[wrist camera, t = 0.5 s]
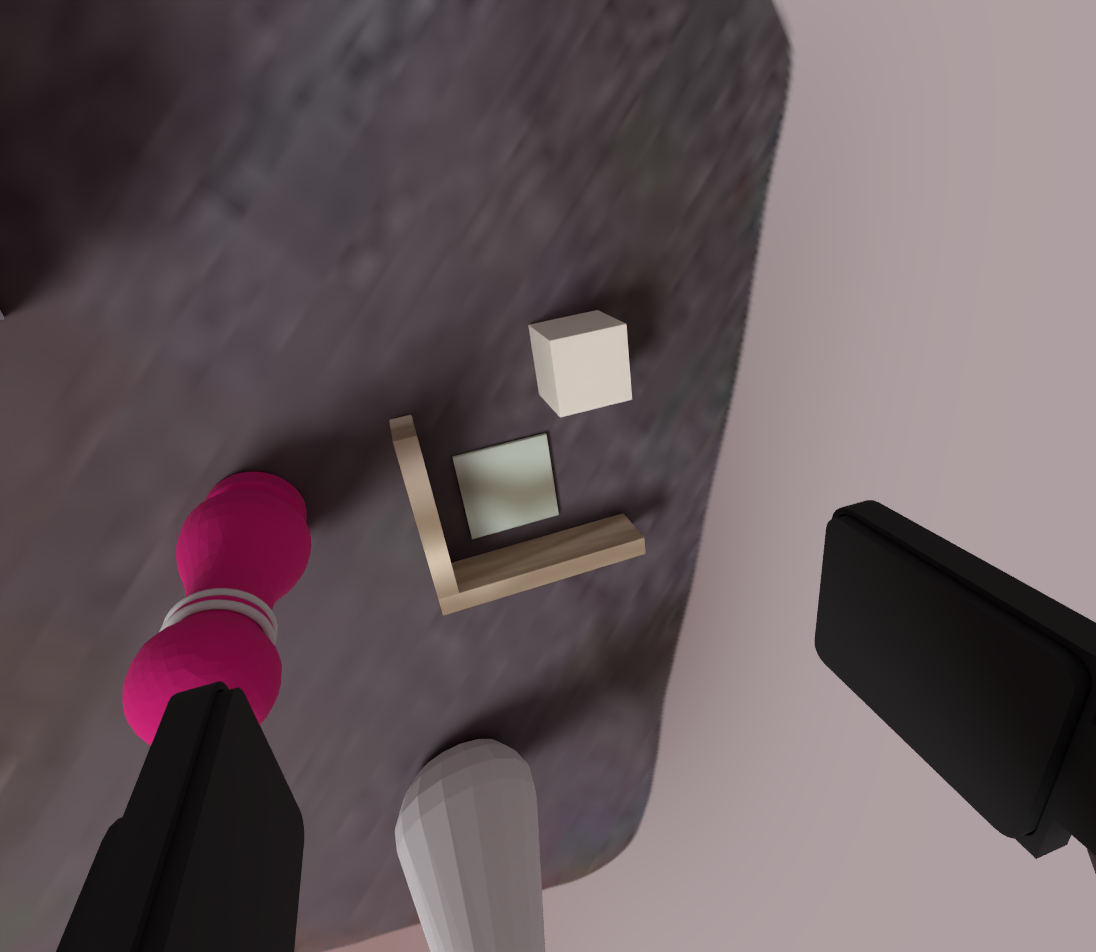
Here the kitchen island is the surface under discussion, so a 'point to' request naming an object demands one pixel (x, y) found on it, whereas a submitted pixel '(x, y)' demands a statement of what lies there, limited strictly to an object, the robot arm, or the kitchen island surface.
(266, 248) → the kitchen island surface
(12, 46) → the kitchen island surface
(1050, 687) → the robot arm
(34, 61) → the kitchen island surface
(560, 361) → the cube
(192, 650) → the pepper mill
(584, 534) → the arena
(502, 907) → the soap bottle
